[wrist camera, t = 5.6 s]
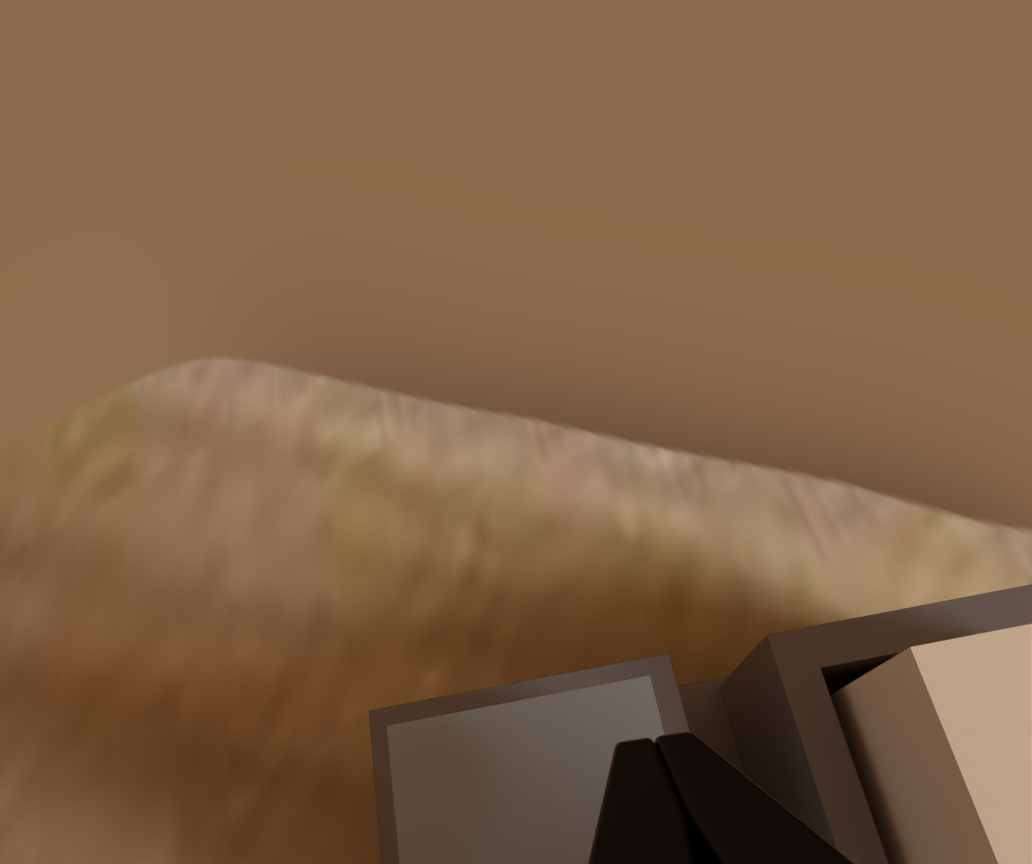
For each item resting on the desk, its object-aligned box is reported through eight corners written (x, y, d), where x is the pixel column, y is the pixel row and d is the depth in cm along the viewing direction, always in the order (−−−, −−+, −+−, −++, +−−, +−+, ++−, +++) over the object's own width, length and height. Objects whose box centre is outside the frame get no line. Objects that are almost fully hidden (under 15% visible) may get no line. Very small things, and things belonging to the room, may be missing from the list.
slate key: (661, 938, 15) (728, 993, 9) (475, 976, 15) (417, 1057, 9) (617, 741, 17) (650, 675, 11) (450, 773, 17) (386, 725, 11)
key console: (1054, 908, 19) (1267, 930, 13) (430, 1037, 18) (371, 1119, 13) (941, 641, 22) (1074, 565, 16) (401, 745, 21) (342, 705, 16)
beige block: (1014, 856, 17) (1265, 856, 11) (852, 889, 17) (1015, 908, 11) (943, 687, 19) (1127, 605, 13) (795, 715, 19) (910, 647, 13)
